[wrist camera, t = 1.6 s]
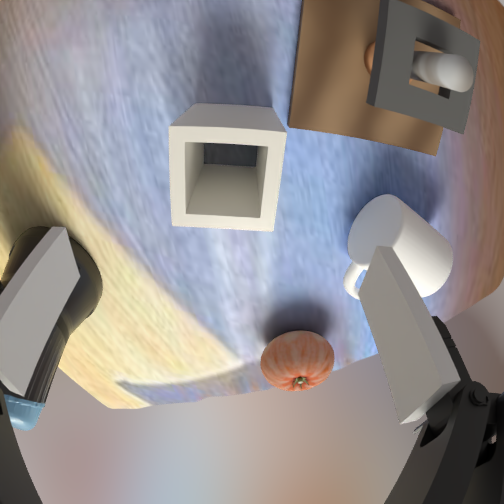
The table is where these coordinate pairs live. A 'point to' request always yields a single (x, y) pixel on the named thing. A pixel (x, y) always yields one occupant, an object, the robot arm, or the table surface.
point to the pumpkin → (297, 360)
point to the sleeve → (225, 168)
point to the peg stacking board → (363, 75)
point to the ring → (400, 63)
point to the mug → (398, 244)
